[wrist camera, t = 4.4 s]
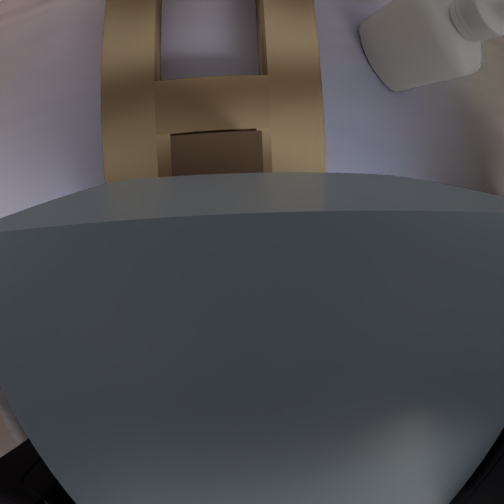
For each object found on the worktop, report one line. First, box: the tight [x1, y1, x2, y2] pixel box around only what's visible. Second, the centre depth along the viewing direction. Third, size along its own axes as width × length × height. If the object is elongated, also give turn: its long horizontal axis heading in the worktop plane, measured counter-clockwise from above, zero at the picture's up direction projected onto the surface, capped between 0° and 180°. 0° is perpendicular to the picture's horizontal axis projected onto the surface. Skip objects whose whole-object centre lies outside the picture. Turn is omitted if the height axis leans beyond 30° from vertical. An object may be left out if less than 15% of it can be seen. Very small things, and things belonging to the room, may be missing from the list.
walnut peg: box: [171, 131, 264, 176], centre depth 16 cm, size 5×4×7 cm
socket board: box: [101, 0, 325, 184], centre depth 16 cm, size 20×12×2 cm, turn 3°
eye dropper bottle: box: [359, 0, 504, 92], centre depth 12 cm, size 4×6×12 cm
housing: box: [0, 172, 504, 504], centre depth 6 cm, size 10×7×6 cm
